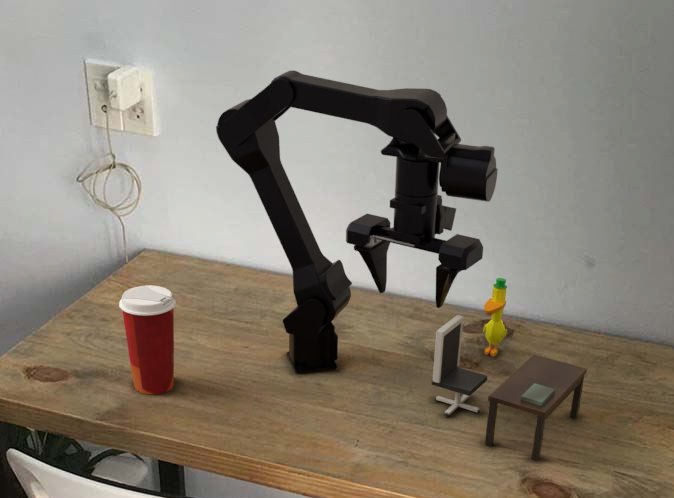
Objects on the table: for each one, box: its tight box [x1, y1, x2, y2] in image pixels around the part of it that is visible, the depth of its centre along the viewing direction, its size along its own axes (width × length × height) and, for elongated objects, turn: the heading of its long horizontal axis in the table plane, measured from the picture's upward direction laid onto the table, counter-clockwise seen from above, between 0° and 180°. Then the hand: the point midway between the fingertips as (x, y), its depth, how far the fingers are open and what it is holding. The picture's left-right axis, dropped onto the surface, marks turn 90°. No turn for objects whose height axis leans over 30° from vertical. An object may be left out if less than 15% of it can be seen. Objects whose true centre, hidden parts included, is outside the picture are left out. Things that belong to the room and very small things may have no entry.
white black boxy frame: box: [431, 314, 489, 418], centre depth 156 cm, size 7×7×12 cm
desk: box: [484, 353, 588, 462], centre depth 153 cm, size 8×15×8 cm, turn 150°
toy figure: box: [482, 277, 508, 357], centre depth 171 cm, size 7×4×12 cm, turn 151°
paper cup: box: [118, 284, 177, 395], centre depth 157 cm, size 8×8×14 cm
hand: (410, 299), depth 158 cm, fingers open, 9 cm apart
